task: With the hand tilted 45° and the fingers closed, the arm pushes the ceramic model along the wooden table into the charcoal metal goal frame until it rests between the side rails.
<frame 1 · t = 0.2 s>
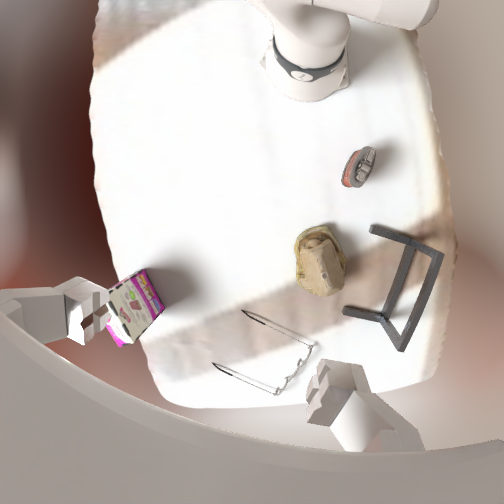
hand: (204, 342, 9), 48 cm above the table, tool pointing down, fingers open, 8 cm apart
goal: (370, 273, 56), on the table
candy bar box: (147, 292, 63), on the table
lighter: (352, 169, 51), on the table
ceramic model: (318, 260, 57), on the table
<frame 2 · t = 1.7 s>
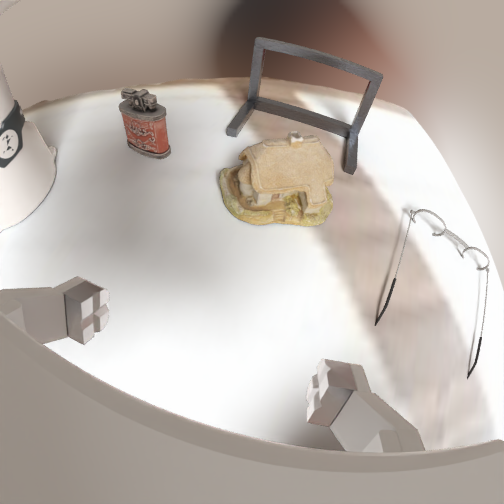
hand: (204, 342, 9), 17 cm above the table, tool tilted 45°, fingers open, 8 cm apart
eyeglasses: (439, 295, 31), on the table
goal: (294, 141, 41), on the table
lighter: (148, 148, 37), on the table
ceramic model: (277, 196, 35), on the table
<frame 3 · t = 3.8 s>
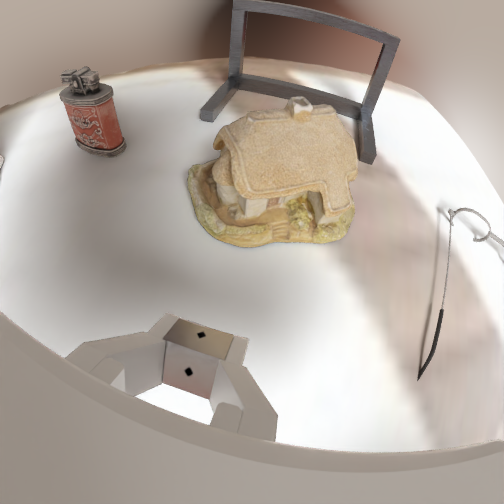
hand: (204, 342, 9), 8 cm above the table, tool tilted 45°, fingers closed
eyeglasses: (486, 320, 20), on the table
goal: (290, 123, 30), on the table
lighter: (100, 145, 26), on the table
ceramic model: (274, 201, 24), on the table
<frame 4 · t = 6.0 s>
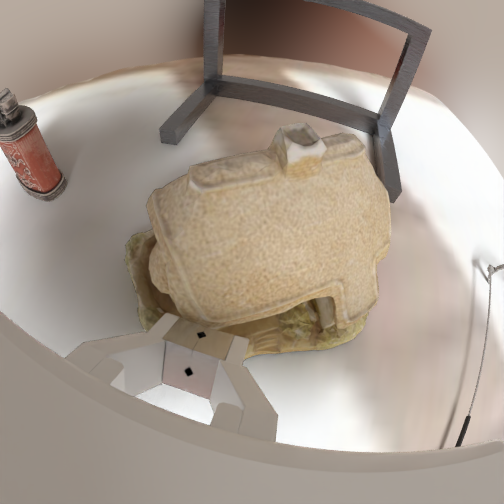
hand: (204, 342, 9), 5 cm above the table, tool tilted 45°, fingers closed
goal: (284, 143, 22), on the table
lighter: (41, 182, 19), on the table
ceramic model: (260, 279, 16), on the table, touching gripper
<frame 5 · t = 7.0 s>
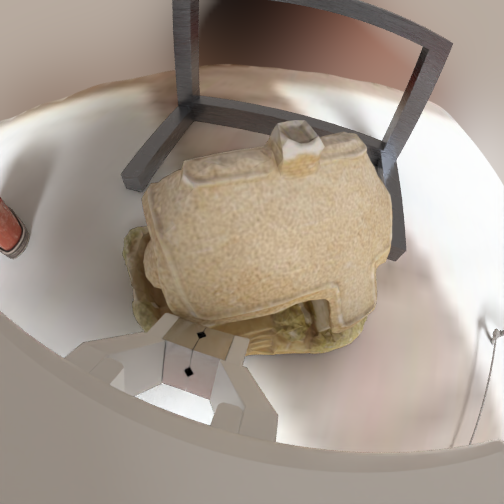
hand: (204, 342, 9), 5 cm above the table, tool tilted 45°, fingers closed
goal: (268, 186, 20), on the table
lighter: (7, 232, 16), on the table
ceramic model: (258, 278, 16), on the table, touching gripper
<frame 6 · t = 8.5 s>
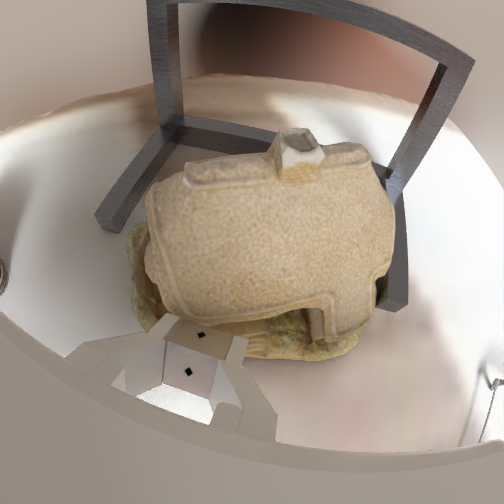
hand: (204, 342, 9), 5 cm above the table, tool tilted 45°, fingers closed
goal: (256, 226, 18), on the table
ceramic model: (258, 282, 16), on the table, touching gripper
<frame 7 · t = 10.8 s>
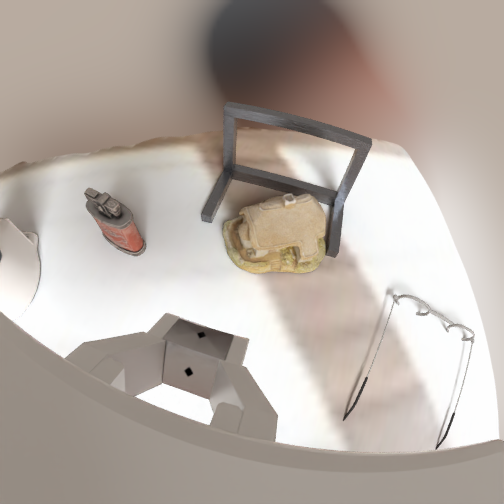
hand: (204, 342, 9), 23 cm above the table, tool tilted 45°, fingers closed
eyeglasses: (415, 378, 31), on the table
goal: (273, 221, 41), on the table
lighter: (124, 241, 38), on the table
ceramic model: (275, 244, 39), on the table
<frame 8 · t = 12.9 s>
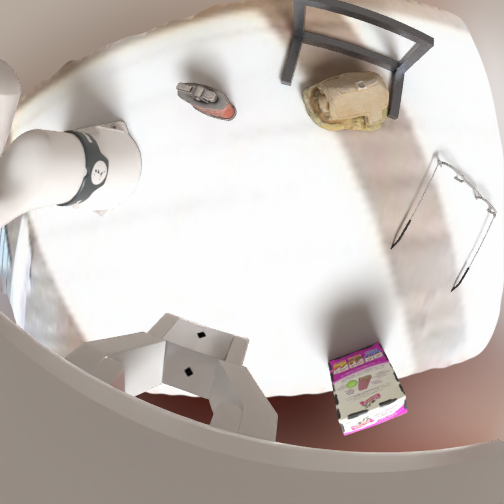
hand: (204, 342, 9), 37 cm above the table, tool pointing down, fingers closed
eyeglasses: (446, 228, 42), on the table
goal: (343, 83, 38), on the table
candy bar box: (356, 359, 49), on the table
lighter: (214, 108, 42), on the table
ceramic model: (346, 104, 39), on the table
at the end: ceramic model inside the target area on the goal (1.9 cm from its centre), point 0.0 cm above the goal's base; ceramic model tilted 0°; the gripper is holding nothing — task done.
